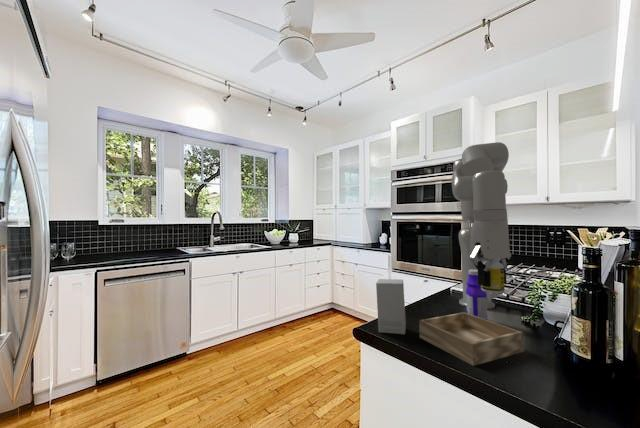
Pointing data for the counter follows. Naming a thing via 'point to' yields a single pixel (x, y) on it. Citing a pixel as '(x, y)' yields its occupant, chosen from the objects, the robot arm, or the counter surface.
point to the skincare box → (391, 306)
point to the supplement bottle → (495, 277)
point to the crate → (471, 337)
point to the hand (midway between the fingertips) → (492, 283)
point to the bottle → (475, 296)
